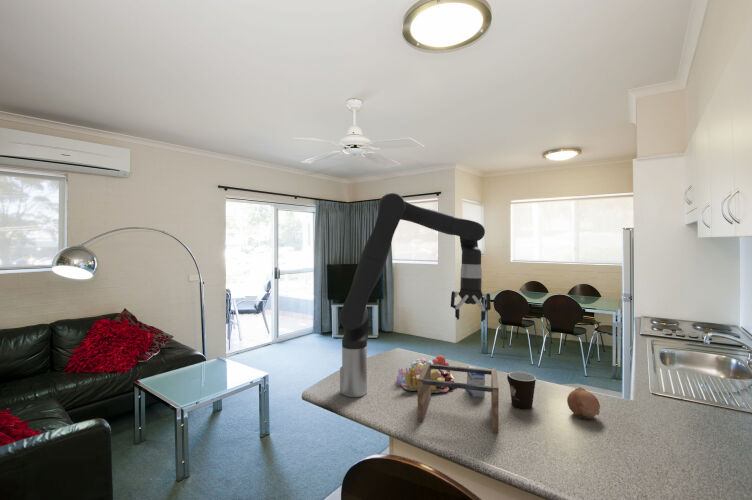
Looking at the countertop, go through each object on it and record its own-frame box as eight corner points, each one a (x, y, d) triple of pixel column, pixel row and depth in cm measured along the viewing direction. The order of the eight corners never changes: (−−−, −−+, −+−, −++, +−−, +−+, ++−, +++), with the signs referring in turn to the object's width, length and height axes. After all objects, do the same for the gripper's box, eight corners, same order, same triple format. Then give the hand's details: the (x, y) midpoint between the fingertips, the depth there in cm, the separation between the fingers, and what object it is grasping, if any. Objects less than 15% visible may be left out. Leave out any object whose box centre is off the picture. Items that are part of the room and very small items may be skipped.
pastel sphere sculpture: (462, 395, 128) (463, 370, 128) (398, 395, 129) (398, 370, 129) (449, 371, 153) (449, 350, 153) (395, 371, 154) (395, 350, 154)
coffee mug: (538, 412, 115) (538, 382, 115) (510, 410, 116) (510, 379, 116) (530, 397, 126) (530, 369, 126) (505, 395, 128) (505, 368, 128)
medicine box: (466, 388, 134) (466, 366, 134) (478, 388, 134) (478, 365, 134) (472, 397, 126) (472, 373, 126) (485, 397, 126) (485, 373, 126)
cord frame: (417, 421, 109) (417, 379, 109) (426, 398, 125) (426, 362, 125) (498, 432, 102) (498, 388, 102) (496, 407, 118) (496, 368, 118)
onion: (576, 419, 116) (571, 388, 120) (606, 421, 110) (601, 389, 114) (564, 417, 111) (560, 385, 115) (596, 419, 104) (590, 385, 109)
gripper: (450, 276, 129) (449, 320, 129) (491, 278, 125) (490, 323, 125) (452, 274, 136) (451, 316, 136) (491, 276, 132) (490, 319, 132)
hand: (470, 320), depth 130 cm, fingers open, 8 cm apart
